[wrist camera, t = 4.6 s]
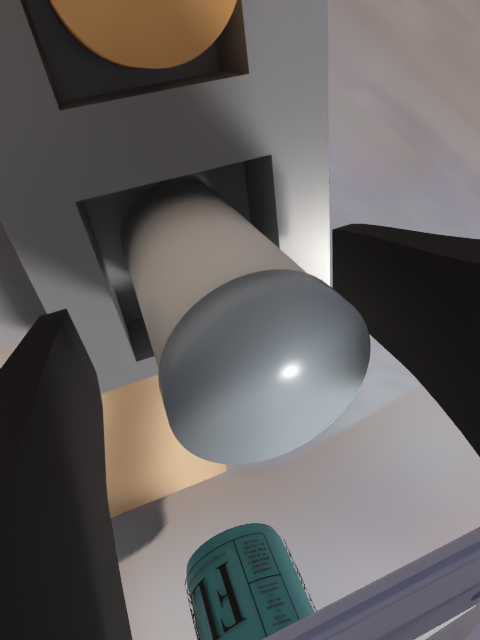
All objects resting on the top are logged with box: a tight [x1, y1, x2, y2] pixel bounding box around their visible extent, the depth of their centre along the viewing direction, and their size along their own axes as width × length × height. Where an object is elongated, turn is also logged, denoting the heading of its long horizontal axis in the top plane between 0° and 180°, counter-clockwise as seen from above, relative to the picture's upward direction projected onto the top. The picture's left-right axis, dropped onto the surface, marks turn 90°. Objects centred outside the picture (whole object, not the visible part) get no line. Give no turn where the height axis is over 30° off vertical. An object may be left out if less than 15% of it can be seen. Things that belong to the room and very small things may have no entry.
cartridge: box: [121, 180, 370, 465], centre depth 11 cm, size 4×4×8 cm
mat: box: [101, 375, 227, 518], centre depth 19 cm, size 8×8×1 cm
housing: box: [0, 0, 330, 394], centre depth 11 cm, size 9×14×3 cm, turn 8°
